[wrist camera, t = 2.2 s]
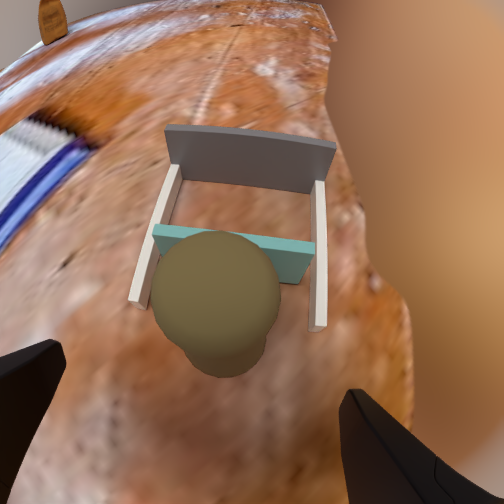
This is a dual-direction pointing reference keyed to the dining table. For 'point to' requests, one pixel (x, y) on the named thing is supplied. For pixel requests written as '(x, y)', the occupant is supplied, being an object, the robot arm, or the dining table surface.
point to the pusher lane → (250, 174)
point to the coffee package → (51, 20)
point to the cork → (216, 300)
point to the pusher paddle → (277, 249)
